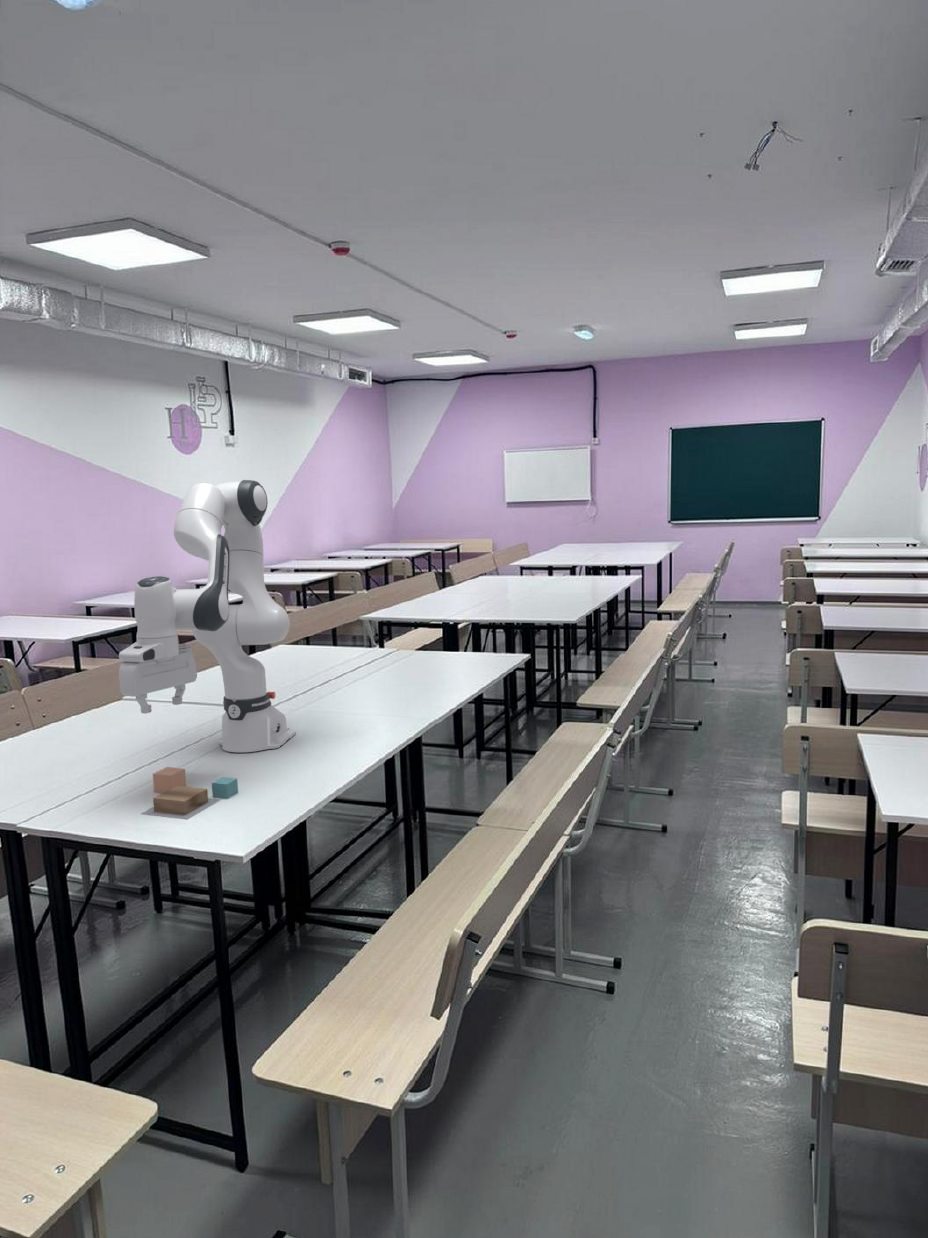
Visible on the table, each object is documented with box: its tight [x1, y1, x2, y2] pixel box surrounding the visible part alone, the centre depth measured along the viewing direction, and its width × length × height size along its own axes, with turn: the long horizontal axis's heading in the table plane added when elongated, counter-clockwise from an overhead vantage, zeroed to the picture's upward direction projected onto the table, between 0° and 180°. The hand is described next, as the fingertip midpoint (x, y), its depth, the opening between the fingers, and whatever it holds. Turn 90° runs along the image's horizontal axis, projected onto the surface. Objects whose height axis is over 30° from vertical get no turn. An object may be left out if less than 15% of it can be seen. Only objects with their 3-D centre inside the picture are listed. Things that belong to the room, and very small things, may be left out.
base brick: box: [152, 786, 209, 815], centre depth 183 cm, size 8×8×3 cm
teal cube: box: [211, 776, 239, 799], centre depth 190 cm, size 4×4×4 cm
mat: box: [140, 797, 222, 820], centre depth 183 cm, size 12×12×1 cm
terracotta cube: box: [152, 766, 187, 794], centre depth 195 cm, size 5×5×5 cm
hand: (162, 708), depth 192 cm, fingers open, 8 cm apart
